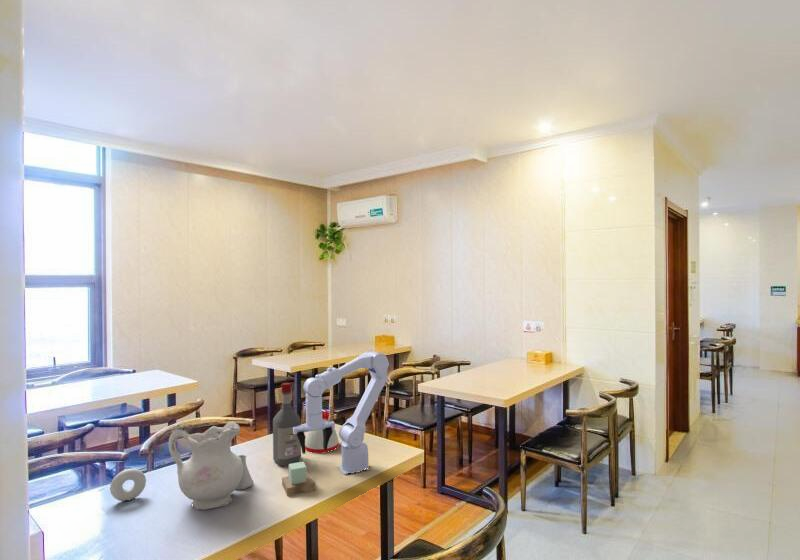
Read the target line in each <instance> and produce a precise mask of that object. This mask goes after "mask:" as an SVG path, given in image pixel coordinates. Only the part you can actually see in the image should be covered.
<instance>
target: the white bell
mask: <svg viewBox="0 0 800 560" xmlns="http://www.w3.org/2000/svg"><path fill="white" fill-rule="evenodd" d="M330 413H331V412H328V410H326V409H324V410H322V422H330V421H329V417H330ZM332 430H333V433H332V435H331V437H330V439H329V442H328V446H327V450H324V448H323V429H322V430H315V431H309V432H306V435H305V436H306V437H305V452H307V453H308V452H309V453H311V452H312V454H323V453H322V452H326V453H329V452H328V451H331V450H333V451H335V450H334V449H335V448H337V447H338V448H339V446H338V445H339V437H338V433H337V431H336V429H335V428H333V429H332ZM338 448H337V449H338ZM331 452H332V451H331Z"/></svg>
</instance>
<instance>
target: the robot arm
mask: <svg viewBox="0 0 800 560" xmlns="http://www.w3.org/2000/svg"><path fill="white" fill-rule="evenodd" d="M389 365H390V362H389V360H388V357H387V355H386V354H384V353H381V352H376V351H374V350H372V349H371V350H367V351H366V352H364V353H361V354H359V355H358V356H356V357H355V358H354V359H352V360H350V361H348V362H347V363H345V364H344V365H341V366H340V367H338V368H337V367H328V368H327V369H326V371H324V372H322V373H320V374H316V375H315V377H309V378H307V379H306V380H305V381H304V383H303V385H302V388H303V391H304V392H305V423H304V424H301V426H297V427H293V433H294V434H296V435H297V437H298V439H299V442H300V444H301V454H302V455H305V454H306V450H305V440H306V436H307V435H305V433H308V432H309V431H315V430H322V429H323V448H324V450H327V446H328V442H329V439H330V437H331V435H332V433H333V430H332V429H333V428H334V429H335V428H336V427H335V425H336V424H335V422H334V421H329V422H322V411H323V398H322V397H323V394H324V392H325V391H326V390H328V389H330V388H331V387H333V386H335V385H336V384H339V383H340V382H341V380H342V378H343V377H344V376H347V375H349V374H351V373H353V372H355V371H357V370H359V369H362V368H363V369H368V372H369V374H370V377H371V378H370V381H369V383H368V385H367V387H366V388H365V391H364V393H363V395H362V396H361V399H360V400H359V402H358V404H357V405H356V408H355V410H354V412H353V413H352V416H351V417H348V418H347V419H346V421H345V423H344V424H343V425H341V426H340V428H339V430H338V431H339V432H338V436H339V438H340V440H341V441H342V442H341V464H338V466H337V467H338V469H339V470H340V471H341V472H342V474H343V475H345V474H346V475H349V474H348V473H351V474H354V473H353V472H356V473H359V472H358V471H361V472H363V471H362V470H364V469H365V468H366V469H367V468H369V449H368V445H367V443H365V442H364V438H365V433H366V431H367V428H366V422H367V420H368V418H369V416H370V414H371V412H372V410H373V409H374V407H375V404H376V403H377V400H378V399H379V396H380V394H381V393H382V390H383V389H384V386H385V384H386V382H387V379H388V368H389ZM366 469H365V470H366ZM366 471H367V470H366Z"/></svg>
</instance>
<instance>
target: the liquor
mask: <svg viewBox="0 0 800 560" xmlns="http://www.w3.org/2000/svg"><path fill="white" fill-rule="evenodd" d="M280 391H281V406H280V410H278V411H277V413H276V415H275V416H274V417H273V418H272V446H273V447H272V448H273V449H272V453H273V454H272V455H273V457H272V459H273V461H274V463H275V464H276V465H277V466H278V467H289V464H292V463H298V462H301V460H302V448H301V444H300V442H299V439H298V437H297V435H296V434H294V433H293V427H297V426H301V425H302V424H301V423H302V422H301V421H302V420H301V417H300V415H299V414H298V413H297V412H296V411H295V410H294V409H293V406H292V383H291V382H283V383H281V389H280Z"/></svg>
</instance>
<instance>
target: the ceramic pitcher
mask: <svg viewBox="0 0 800 560" xmlns="http://www.w3.org/2000/svg"><path fill="white" fill-rule="evenodd" d="M186 428H187V426H186V425H183V426H182V425H181V426H175V427H174V428H173V430H172V433H171V434H170V436H169V438H168V451H169V454H170V456H171V458H172V461H173V462H174V463H175V464H176V466H177V467H176V468H177V480H178V482H177V483H178V486H179V489H180V491H181V492H182V494H183V495H184V496H185V497H186V498H188V499H189V500H192V501H193V502H192V501H191V505H192V504H193V507H192V508H194V509H196V508H197V509H196V510H199V509H200V510H199V511H201V510H202V511H203V510H209V509H215V508H219V507H225V506H227V505H229V504H231V503H232V502H233V499H232V496H231V494H232V493H234V491H236V488H237V486H238V485H239V483H240V481H241V479H242V476H243V463H242V460H241V458H240V457H239V455H237V454H236V453H234V452H233V451H232V450H231V442H232V440H233V439H234V438H235V437H236V436H238V435H241V432H242V431H241V429H242V428H241V426H240V425H239V424H238V423H237V422H236V421H233V420H232V421H228V422H227V423H226V424H225V425H224V426H223V427H221V426H220V427H219V426H215V425H213V426H211V427H209V428H207V430H205V431H204V432H203V433H201V432H195V433H191V434H189V433H188V430H187V429H186ZM179 438H184V439H185V440H186V441H187V442H188V443H189V445H190V448H191V456H190V458H188V459H187V460H186V462H184V463H183V460H182V457H181V455H180V453H179V451H178V449H177V440H178V439H179Z"/></svg>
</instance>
